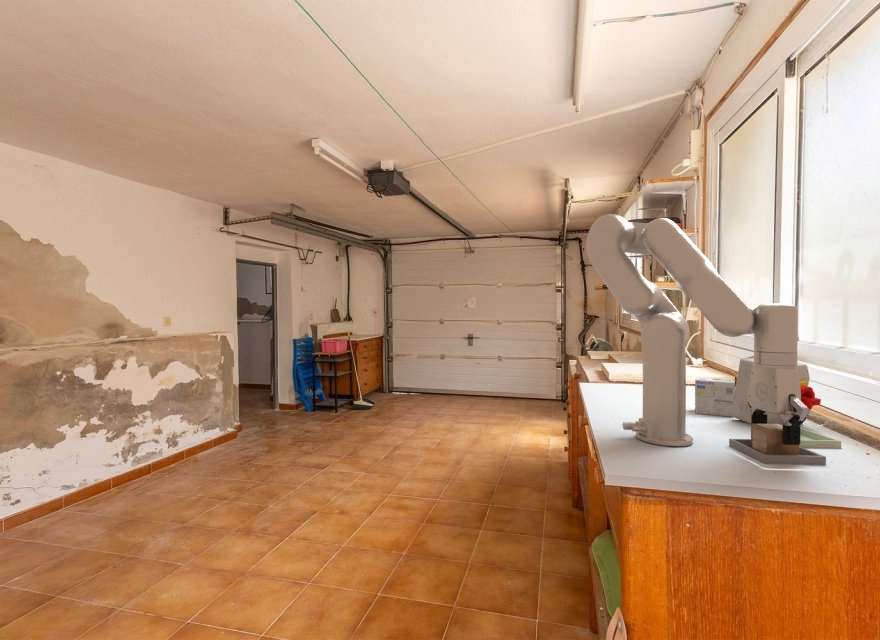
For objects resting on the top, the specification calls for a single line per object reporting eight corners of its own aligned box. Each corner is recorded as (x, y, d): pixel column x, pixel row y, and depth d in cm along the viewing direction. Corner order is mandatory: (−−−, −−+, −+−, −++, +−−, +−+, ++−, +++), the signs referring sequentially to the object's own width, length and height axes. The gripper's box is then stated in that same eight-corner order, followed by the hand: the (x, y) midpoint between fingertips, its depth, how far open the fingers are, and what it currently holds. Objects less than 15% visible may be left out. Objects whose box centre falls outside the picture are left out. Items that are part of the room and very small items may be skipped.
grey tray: (764, 465, 88) (764, 455, 88) (729, 447, 100) (729, 438, 100) (825, 466, 88) (826, 456, 88) (782, 448, 100) (782, 439, 99)
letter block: (768, 458, 91) (769, 429, 91) (750, 449, 97) (750, 422, 97) (798, 459, 91) (799, 430, 91) (778, 450, 97) (778, 423, 97)
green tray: (786, 448, 99) (786, 440, 99) (752, 434, 111) (752, 426, 111) (841, 449, 98) (841, 441, 98) (800, 435, 110) (800, 427, 110)
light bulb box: (734, 413, 135) (735, 379, 134) (735, 417, 129) (736, 382, 129) (695, 409, 140) (695, 376, 140) (694, 413, 135) (694, 379, 135)
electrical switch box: (786, 442, 111) (800, 367, 108) (729, 420, 125) (740, 354, 122) (820, 436, 117) (834, 365, 114) (762, 416, 130) (773, 352, 127)
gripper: (732, 356, 102) (732, 427, 103) (786, 364, 85) (785, 449, 85) (765, 356, 102) (764, 427, 102) (826, 364, 85) (825, 450, 85)
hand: (774, 437), depth 94 cm, fingers open, 9 cm apart
